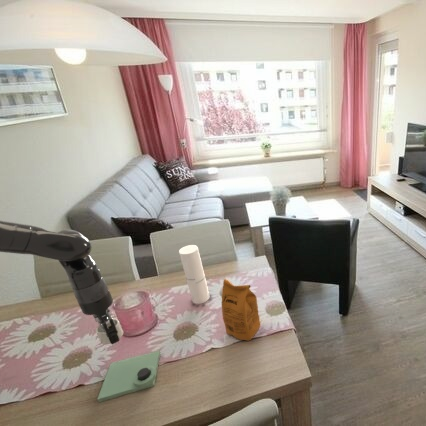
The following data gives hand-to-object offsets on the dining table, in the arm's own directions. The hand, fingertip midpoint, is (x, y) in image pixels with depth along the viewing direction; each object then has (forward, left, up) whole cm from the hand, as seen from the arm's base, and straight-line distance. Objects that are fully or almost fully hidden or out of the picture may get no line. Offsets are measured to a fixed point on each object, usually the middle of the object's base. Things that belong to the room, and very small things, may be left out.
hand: (111, 336), depth 92 cm
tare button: (+8, -8, -12) cm, 16 cm away
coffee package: (+39, +3, -14) cm, 41 cm away
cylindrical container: (+23, +28, -14) cm, 39 cm away
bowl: (0, 0, -1) cm, 1 cm away
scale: (+3, -4, -14) cm, 15 cm away
